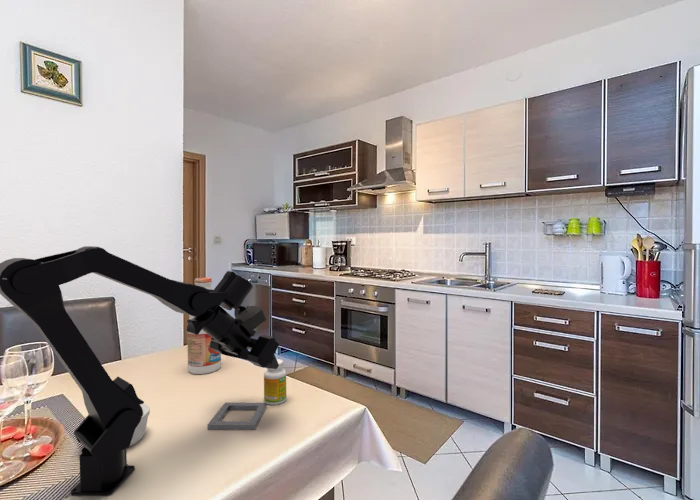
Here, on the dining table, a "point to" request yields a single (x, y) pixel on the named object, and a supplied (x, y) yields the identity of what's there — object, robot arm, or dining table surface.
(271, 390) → the supplement bottle
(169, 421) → the dining table surface
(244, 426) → the frame
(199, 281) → the fruit juice
